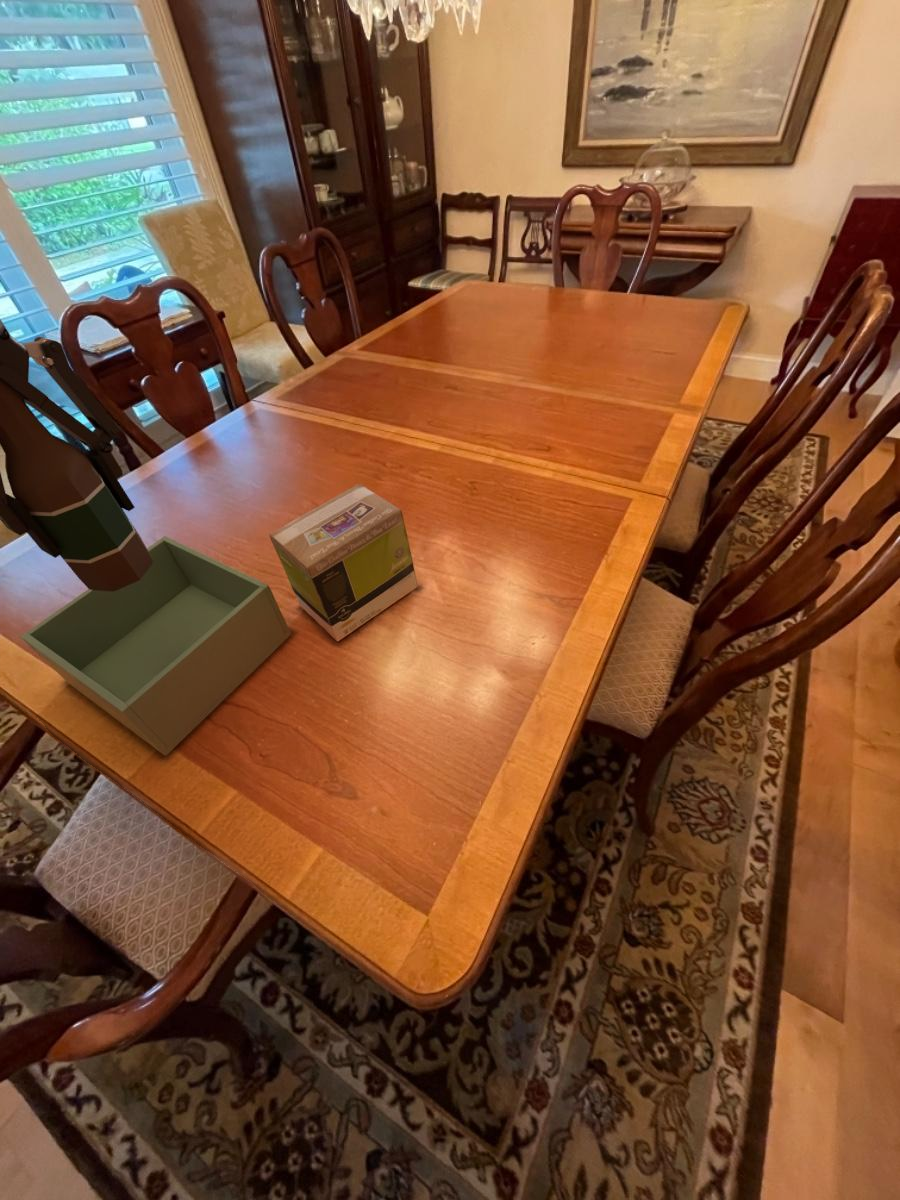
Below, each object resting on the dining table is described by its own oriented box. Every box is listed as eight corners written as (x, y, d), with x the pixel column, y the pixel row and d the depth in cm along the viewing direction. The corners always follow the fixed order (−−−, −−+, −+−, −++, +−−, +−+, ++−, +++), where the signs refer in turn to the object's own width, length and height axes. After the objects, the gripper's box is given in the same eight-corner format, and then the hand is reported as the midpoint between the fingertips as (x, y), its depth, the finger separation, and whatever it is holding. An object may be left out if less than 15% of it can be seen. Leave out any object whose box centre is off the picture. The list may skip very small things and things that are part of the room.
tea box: (379, 558, 86) (360, 479, 75) (419, 588, 80) (405, 508, 69) (299, 608, 79) (266, 530, 69) (336, 645, 74) (307, 567, 63)
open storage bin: (165, 756, 64) (122, 711, 57) (68, 683, 73) (19, 636, 66) (291, 634, 76) (268, 584, 69) (194, 584, 85) (165, 535, 78)
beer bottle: (110, 603, 57) (-63, 385, 40) (70, 580, 60) (-107, 369, 43) (169, 560, 62) (36, 345, 44) (129, 540, 65) (-10, 333, 47)
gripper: (-240, 350, 33) (10, 602, 49) (71, 254, 44) (190, 485, 61) (-273, 333, 36) (-27, 576, 53) (25, 248, 47) (150, 469, 64)
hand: (89, 527), depth 57 cm, fingers closed on beer bottle, 8 cm apart
